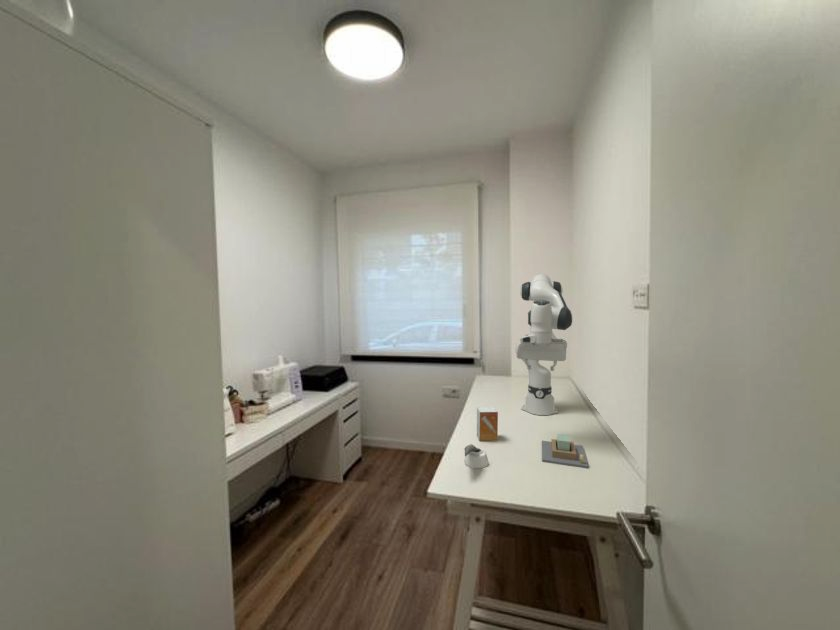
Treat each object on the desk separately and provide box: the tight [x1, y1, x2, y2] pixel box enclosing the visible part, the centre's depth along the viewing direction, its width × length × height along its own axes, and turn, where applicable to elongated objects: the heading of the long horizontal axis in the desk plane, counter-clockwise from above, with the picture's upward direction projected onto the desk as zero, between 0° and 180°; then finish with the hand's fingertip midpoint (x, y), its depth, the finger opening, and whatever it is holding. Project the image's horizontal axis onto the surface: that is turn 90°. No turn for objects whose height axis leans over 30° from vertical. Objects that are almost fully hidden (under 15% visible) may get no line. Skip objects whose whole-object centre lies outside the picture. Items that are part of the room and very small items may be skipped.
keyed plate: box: [541, 438, 589, 469], centre depth 137 cm, size 18×16×4 cm
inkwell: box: [464, 443, 489, 469], centre depth 126 cm, size 9×18×10 cm, turn 157°
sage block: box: [556, 433, 571, 451], centre depth 137 cm, size 4×7×6 cm, turn 161°
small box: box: [476, 406, 499, 442], centre depth 152 cm, size 8×6×13 cm
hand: (540, 369), depth 149 cm, fingers open, 8 cm apart
